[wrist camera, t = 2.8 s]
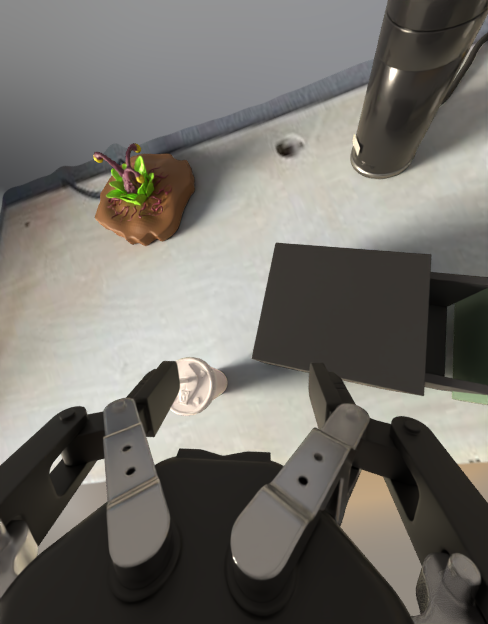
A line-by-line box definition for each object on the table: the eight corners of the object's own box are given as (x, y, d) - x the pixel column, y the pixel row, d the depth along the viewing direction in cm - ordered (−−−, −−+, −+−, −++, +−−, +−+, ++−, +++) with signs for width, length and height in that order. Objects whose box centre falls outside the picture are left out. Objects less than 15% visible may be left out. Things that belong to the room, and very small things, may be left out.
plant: (131, 157, 52) (89, 102, 42) (206, 166, 47) (179, 105, 36) (91, 234, 49) (34, 196, 39) (167, 254, 43) (124, 215, 33)
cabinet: (391, 290, 33) (431, 254, 23) (382, 389, 30) (424, 396, 20) (281, 278, 37) (275, 242, 27) (265, 363, 34) (251, 358, 24)
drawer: (506, 305, 29) (590, 278, 20) (508, 411, 26) (606, 427, 18) (344, 286, 34) (359, 258, 25) (333, 373, 31) (345, 372, 23)
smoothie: (237, 362, 35) (201, 355, 22) (234, 407, 34) (192, 428, 21) (198, 360, 37) (142, 351, 24) (193, 403, 35) (130, 420, 22)
